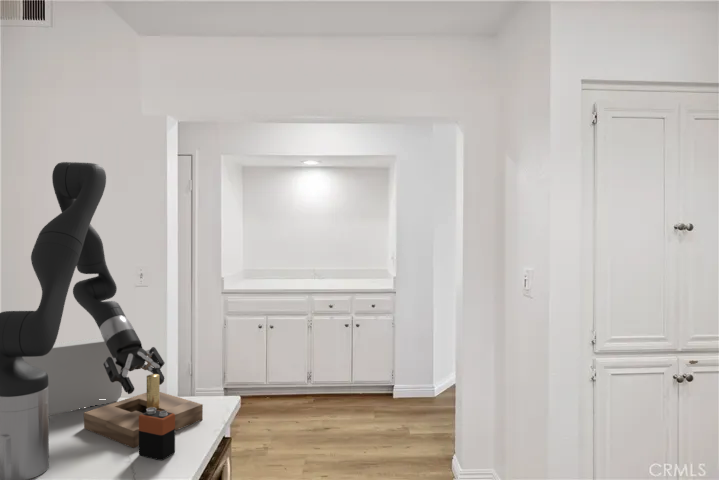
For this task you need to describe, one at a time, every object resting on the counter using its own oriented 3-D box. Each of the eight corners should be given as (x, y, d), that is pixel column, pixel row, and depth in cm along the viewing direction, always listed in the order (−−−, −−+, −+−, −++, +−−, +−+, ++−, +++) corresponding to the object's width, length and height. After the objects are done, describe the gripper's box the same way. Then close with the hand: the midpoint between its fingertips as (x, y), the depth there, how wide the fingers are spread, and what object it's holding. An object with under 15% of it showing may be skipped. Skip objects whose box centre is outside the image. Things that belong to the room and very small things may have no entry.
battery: (152, 447, 114) (152, 404, 114) (176, 452, 112) (176, 409, 111) (137, 455, 110) (137, 411, 110) (162, 461, 107) (162, 415, 107)
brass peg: (150, 432, 122) (150, 380, 122) (137, 427, 125) (137, 376, 124) (168, 425, 126) (168, 374, 126) (155, 421, 129) (155, 371, 129)
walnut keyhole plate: (133, 448, 113) (133, 430, 113) (84, 428, 124) (84, 412, 124) (202, 419, 131) (202, 404, 130) (153, 404, 141) (153, 390, 141)
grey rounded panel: (115, 393, 149) (115, 334, 148) (122, 401, 143) (122, 339, 142) (-3, 416, 131) (-3, 348, 130) (0, 425, 125) (-1, 354, 124)
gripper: (100, 333, 125) (127, 386, 119) (150, 323, 137) (177, 372, 131) (88, 350, 127) (114, 404, 122) (138, 340, 140) (164, 388, 134)
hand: (147, 387), depth 126 cm, fingers open, 8 cm apart
